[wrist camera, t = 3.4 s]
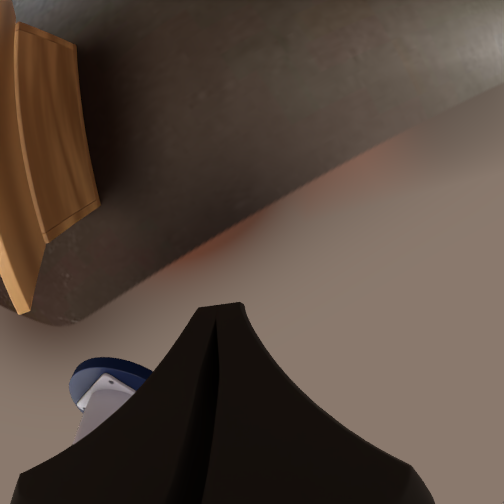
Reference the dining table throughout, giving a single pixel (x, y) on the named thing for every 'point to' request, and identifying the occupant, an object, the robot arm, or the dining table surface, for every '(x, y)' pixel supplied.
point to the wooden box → (52, 130)
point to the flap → (15, 185)
